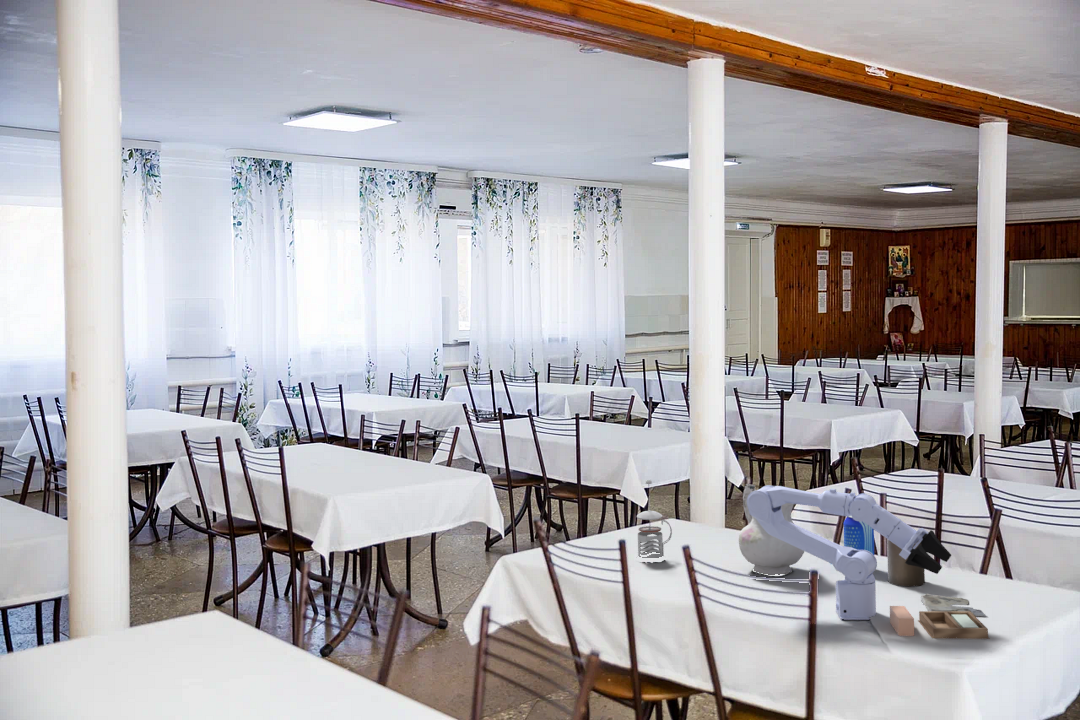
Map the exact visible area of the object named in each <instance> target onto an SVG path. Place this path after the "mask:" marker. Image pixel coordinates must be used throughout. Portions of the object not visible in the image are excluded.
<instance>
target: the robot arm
mask: <svg viewBox="0 0 1080 720" xmlns="http://www.w3.org/2000/svg"><path fill="white" fill-rule="evenodd" d="M786 503H791V504H794V505H800V506H810V507H817V508H819V509H820V511H821V512H822V513H823V514H829V515H835V516H842V517H846V518H847V517H849V516H852V517H853V519H854V520H855V521H859V522H864V523H866V524H867V525H869V526H870V527H871V528H872V529H874V531H875V532H877V533H878V534H879V535H881V536H882V537H884V538H886V539H888V540H889V541H891V542H892V543H894V544H895V545H897V546H898V547H899V548H901V549H902V551H901V552H900V554H899V555H900V556H901V557H903V558H904V559H905V560H906V559H907V558H908V559H907V561H906V562H905V563H906V564H907V565H912V566H917V567H921V568H923V569H924V570H926V571H929V572H931V573H932V574H936V575H938V574H939V572H940V571H941V570H942V568H943V566H942V565H941V564H940V563H939V562H938V561H936V559H934V558H933V557H932V556H934V557H936V558H937V559H939V560H941V561H943V562H945V563H947V562H948V561H949V560H950V558H951V557H952V554H951V553H950V551H949V550H948V549H947V548H946V547H945V546H944V545H943V544H942V543H941V541H940V539H938V536H937V535H936V534H935V532H934V531H933V530H931V529H930V530H928V531H927V530H926V529H925V528H923V527H921V528H920V527H918V529H914V528H913V527H912V526H911V525H909V524H907V523H906V522H904V520H902V519H900V518H899V517H897V516H896V515H894V514H893V513H892V512H890V511H889V510H887V509H886V508H884V507H882V506H881V505H880V504H878V503H877V501H876V500H875V498H874V497H873V496H871V495H870V494H867V493H864V492H863V493H859V494H857V495H856V492H854V491H851V492H850V493H848V492H847V493H846V492H840V491H837V489H836V488H832V487H831V488H830V489H826V490H824V491H822V493H816V492H812V491H806V490H801V489H796V488H792V487H787V486H782V485H770V484H768V485H764V486H762V487H761V488H759V489H756V491H753V492H751V493H750V494H749V495H748V498H747V506H748V510H749V513H750V515H751V516H753V517H754V518H756V520H757V521H758V522H759V523H760V525H761V526H762V527H763V528H764V530H765V531H766V532H767V533H768V534H769V535H771V536H773V537H776V538H778V539H780V540H782V541H784V542H786V543H788V544H790V545H793V546H795V547H797V548H799V549H801V550H803V551H804V553H805V552H806V553H808V554H810V555H812V556H814V557H816V558H817V559H821V560H823V561H824V562H827V563H829V564H830V565H832V566H833V568H834V569H835V570H836V571H837V572H839V573H841V574H842V575H843V576H844V579H842V580H840V579H839V580H836V581H835V612H836V614H837V615H838V618H839V619H840V620H842V619H844V621H845V620H847V621H848V620H849V621H859V620H860V621H861V620H863V621H871V617H874V616H876V615H877V601H876V600H877V599H876V598H877V597H876V596H877V595H876V594H877V592H876V588H877V587H876V578H875V575H874V572H875V571H876V569H877V567H878V562H877V557H876V556H875V554H874V555H873V554H872V553H871V552H869V551H867V550H857V549H854V548H852V547H846V546H844V545H840V544H839V543H836V542H835V541H832V540H830V539H827V538H826V537H823V536H822V535H819V534H816V533H815V532H812V531H810V530H808V529H805V528H804V527H801V526H799V525H797V524H795V523H794V522H793V523H794V524H793V523H791V522H789V521H786V520H785V519H784V516H783V513H782V509H781V505H783V504H786ZM917 541H918V542H917ZM920 542H921V544H922V545H921V544H920ZM914 544H915V546H914V547H913V545H914ZM919 544H920V545H919ZM918 545H919V546H918ZM917 546H918V547H917ZM912 547H913V548H912ZM916 547H917V548H916ZM915 548H916V549H915ZM931 555H932V556H931Z"/></svg>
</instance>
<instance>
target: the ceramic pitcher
mask: <svg viewBox="0 0 1080 720" xmlns="http://www.w3.org/2000/svg"><path fill="white" fill-rule="evenodd" d="M756 490H757V489H756V485H755V484H750V483H746V484H745V486H744V490H743V493H742V504H743V511H744V513H745V518H746V520H747V522H748V524H747V525H746V526H744V527H743V528H742V529H741V530H740V531H739V534H738V545H739V551H740V552H741V555H742V556H743V557H744V558H745V560H746V561H747V562H749V563H750V564H752V565H754V566H753V568H752V569H754V571H756V572H759V573H763V574H768V575H775V574H778V575H780V574H786V575H788V574H790V573H792V572H793V570H792V567H791V566H793V565H794V564H795V565H796V564H797V563H798V562H799V561H800V560H801V559H802V557H803V555H804V554H805V551H803V550H801V549H799V548H797V547H795V546H793V545H790V544H788V543H786V542H784V541H782V540H780V539H778V538H776V537H773V536H771V535H769V534H768V533H767V532H766V531H765V530H764V528H763V527H762V526H761V525H760V523H759V522H758V521H757V520H756V518H754V517H753V516H751V515H750V513H749V510H748V506H747V498H748V495H749V494H750V493H751V492H753V491H756ZM794 505H795V504H791V503H786V504H783V505H781V509H782V513H783V516H784V519H785V520H786V521H789V522H791V523H793V524H795V523H794V522H793V518H792V512H793V511H792V510H793V508H794ZM791 571H792V572H791ZM789 572H790V573H789Z"/></svg>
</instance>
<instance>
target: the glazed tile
mask: <svg viewBox="0 0 1080 720" xmlns="http://www.w3.org/2000/svg"><path fill="white" fill-rule="evenodd" d="M951 617H952V618H953V619H954V620H955V621H956V622H957V623H958V624H959V625H960V627H961V628H979V627H978V626H977V625H976V624H975V623H974V622H973V621H972V620H971V619H970V618H969V617H968V616H967V615H959V614H951Z"/></svg>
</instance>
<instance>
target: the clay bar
mask: <svg viewBox="0 0 1080 720" xmlns="http://www.w3.org/2000/svg"><path fill="white" fill-rule="evenodd" d="M889 623H890V625H891V626H892V628H893V629H894V631H895V632H896V634H897V635H898V636H900V637H902V636H903V637H904V636H905V637H906V636H907V637H914V636H915V618H914V616H913V615H912V614H911V613H910V611H909V609H907V608H906V606H905V605H889Z"/></svg>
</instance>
